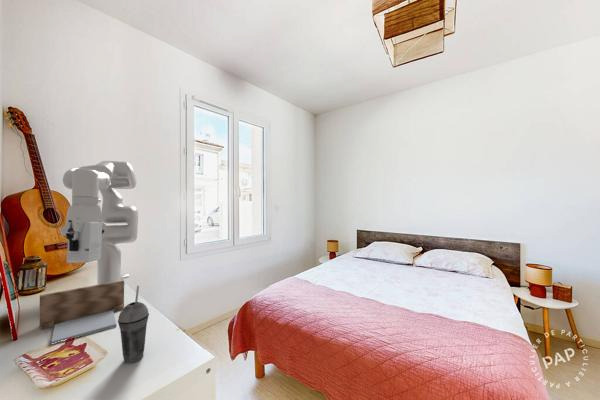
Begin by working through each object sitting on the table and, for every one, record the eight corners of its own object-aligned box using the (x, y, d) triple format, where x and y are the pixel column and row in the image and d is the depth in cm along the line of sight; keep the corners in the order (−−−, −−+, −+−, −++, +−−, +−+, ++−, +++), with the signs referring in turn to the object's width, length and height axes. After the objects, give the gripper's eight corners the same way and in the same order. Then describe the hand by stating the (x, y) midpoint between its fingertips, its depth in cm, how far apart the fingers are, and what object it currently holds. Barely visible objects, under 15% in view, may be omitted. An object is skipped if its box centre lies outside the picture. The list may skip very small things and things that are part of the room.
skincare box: (66, 263, 87) (66, 222, 88) (80, 259, 94) (81, 221, 94) (89, 262, 88) (89, 222, 88) (102, 259, 94) (102, 221, 94)
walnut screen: (122, 304, 103) (122, 278, 103) (124, 308, 98) (124, 282, 98) (40, 323, 87) (40, 293, 87) (38, 330, 82) (38, 298, 82)
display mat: (112, 312, 95) (112, 310, 95) (116, 326, 85) (116, 323, 85) (55, 327, 84) (55, 324, 84) (51, 344, 74) (51, 341, 74)
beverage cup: (111, 363, 65) (111, 290, 66) (137, 348, 72) (137, 281, 72) (129, 370, 63) (129, 293, 63) (155, 353, 70) (155, 284, 70)
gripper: (101, 202, 100) (100, 245, 100) (49, 201, 83) (49, 253, 83) (115, 202, 99) (115, 245, 98) (66, 201, 82) (65, 254, 81)
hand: (85, 248), depth 91 cm, fingers closed on skincare box, 6 cm apart
